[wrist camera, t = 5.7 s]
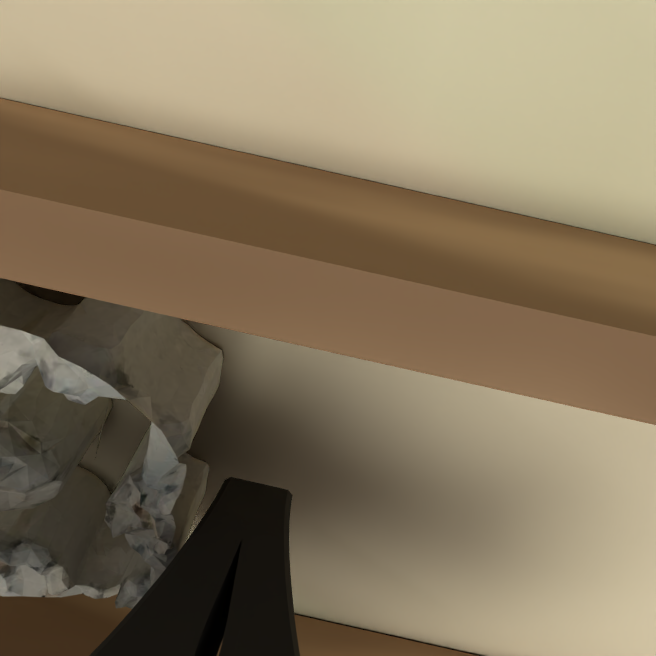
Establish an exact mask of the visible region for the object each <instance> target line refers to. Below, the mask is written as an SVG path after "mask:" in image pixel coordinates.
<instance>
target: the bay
mask: <svg viewBox="0 0 656 656" xmlns="http://www.w3.org/2000/svg"><path fill="white" fill-rule="evenodd" d="M0 278H3V279H7V280H12V281H16V282H21V283H25V284H29V285H34V286H38V287H43V288H47V289H52V290H56V291H61V292H65V293H70V294H74V295H78V296H83V297H87V298H92V299H96V300H101V301H105V302H110V303H114V304H119V305H123V306H128V307H132V308H136V309H141V310H145V311H150V312H154V313H159V314H163V315H168V316H172V317H177V318H181V319H185V320H190V321H194V322H199V323H203V324H208V325H212V326H217V327H221V328H226V329H230V330H235V331H239V332H243V333H248V334H252V335H257V336H261V337H266V338H270V339H275V340H279V341H284V342H288V343H292V344H297V345H301V346H306V347H310V348H315V349H319V350H324V351H328V352H333V353H337V354H342V355H346V356H350V357H355V358H359V359H364V360H368V361H373V362H377V363H382V364H386V365H391V366H395V367H399V368H404V369H408V370H413V371H417V372H422V373H426V374H431V375H435V376H440V377H444V378H449V379H453V380H457V381H462V382H466V383H471V384H475V385H480V386H484V387H489V388H493V389H498V390H502V391H506V392H511V393H515V394H520V395H524V396H529V397H533V398H538V399H542V400H547V401H551V402H556V403H560V404H564V405H569V406H573V407H578V408H582V409H587V410H591V411H596V412H600V413H605V414H609V415H613V416H618V417H622V418H627V419H631V420H636V421H640V422H645V423H649V424H654V425H656V245H652V244H648V243H643V242H639V241H634V240H630V239H625V238H621V237H617V236H612V235H608V234H603V233H599V232H594V231H590V230H585V229H581V228H576V227H572V226H568V225H563V224H559V223H554V222H550V221H545V220H541V219H536V218H532V217H527V216H523V215H518V214H514V213H510V212H505V211H501V210H496V209H492V208H487V207H483V206H478V205H474V204H469V203H465V202H461V201H456V200H452V199H447V198H443V197H438V196H434V195H429V194H425V193H420V192H416V191H412V190H407V189H403V188H398V187H394V186H389V185H385V184H380V183H376V182H371V181H367V180H363V179H358V178H354V177H349V176H345V175H340V174H336V173H331V172H327V171H322V170H318V169H313V168H309V167H305V166H300V165H296V164H291V163H287V162H282V161H278V160H273V159H269V158H264V157H260V156H256V155H251V154H247V153H242V152H238V151H233V150H229V149H224V148H220V147H215V146H211V145H207V144H202V143H198V142H193V141H189V140H184V139H180V138H175V137H171V136H166V135H162V134H158V133H153V132H149V131H144V130H140V129H135V128H131V127H126V126H122V125H117V124H113V123H108V122H104V121H100V120H95V119H91V118H86V117H82V116H77V115H73V114H68V113H64V112H59V111H55V110H51V109H46V108H42V107H37V106H33V105H28V104H24V103H19V102H15V101H10V100H6V99H2V98H0ZM117 595H118V594H116V595H114V596H111V597H108V598H100V599H94V598H91V597H89V596H86V595H84V594H78V595H72V596H66V597H28V596H0V656H89V655H90V654H91V653H92V652H93V651H94V650H95V649H96V648H97V647H98V646H99V645H100V644H101V643H102V642H103V641H104V640H105V639H106V638H107V636H108V635H109V634H110V633H111V632H112V631H113V630H114V629H115V628H116V627H117V626H118V625H119V623H120V622H121V621H122V620H123V619H124V618H125V617H126V616H127V614H128V613H129V612H130V611H131V610H132V609H131V608H128V607H123V608H116V606H115V600H116V597H117ZM294 617H295V625H296V632H297V639H298V645H299V652H300V656H477V655H473V654H468V653H464V652H459V651H455V650H451V649H446V648H442V647H437V646H433V645H428V644H424V643H419V642H415V641H410V640H406V639H401V638H397V637H393V636H388V635H384V634H379V633H375V632H370V631H366V630H361V629H357V628H352V627H348V626H343V625H339V624H335V623H330V622H326V621H321V620H317V619H312V618H308V617H303V616H299V615H294ZM222 641H223V640H222ZM221 645H222V642H221ZM221 645H220V648H219V651H218V654H217V656H219V653H220V649H221Z"/></svg>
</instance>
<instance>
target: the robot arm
mask: <svg viewBox="0 0 656 656" xmlns="http://www.w3.org/2000/svg"><path fill="white" fill-rule="evenodd" d="M291 500H292V494H291V493H290V492H289V491H288V490H286V489H282V488H277V487H273V486H268V485H264V484H259V483H255V482H251V481H246V480H242V479H237V478H233V477H231V478H228V479H226V480H225V481H224V483H223V485H222V487H221V489H220V491H219V493H218V494H217V496H216V498H215V499H214V501H213V503H212V504H211V506H210V508H209V509H208V511H207V512H206V514H205V515H204V517H203V518H202V520H201V521H200V523H199V524H198V526H197V527H196V529H195V530H194V532H193V533H192V534H191V536H190V537H189V539H188V540H187V541H186V543H185V544H184V545H183V547H182V548H181V549H180V551H179V552H178V553H177V555H176V556H175V557H174V559H173V560H172V561H171V563H170V564H169V565H168V567H167V568H166V569H165V570H164V572H163V573H162V574H161V575H160V577H159V578H158V579H157V580H156V581H155V583H154V584H153V585H152V586H151V587H150V589H149V590H148V591H147V592H146V593H145V594H144V596H143V597H142V598H141V599H140V600H139V602H138V603H137V604H136V605H135V606H134V608H133V609H132V610H131V611H130V612H129V613H128V614H127V616H126V617H125V618H124V619H123V620H122V621H121V622H120V623H119V625H118V626H117V627H116V628H115V629H114V630H113V631H112V632H111V633H110V634H109V635H108V636H107V638H106V639H105V640H104V641H103V642H102V643H101V644H100V645H99V646H98V647H97V648H96V649H95V650H94V651H93V652H92V653H91V654H90V655H89V656H217V654H218V651H219V648H220V645H221V642H222V645H221V649H220V653H219V656H300V652H299V645H298V639H297V632H296V625H295V617H294V608H293V598H292V587H291V576H290V560H289V519H290V507H291ZM222 640H223V641H222Z"/></svg>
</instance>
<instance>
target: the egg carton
mask: <svg viewBox="0 0 656 656" xmlns="http://www.w3.org/2000/svg"><path fill="white" fill-rule="evenodd" d="M222 363H223V356H222V350H220V349H219V348H217V347H216V346H214V345H212V344H211V343H209V342H208V341H206V340H205V339H203V338H202V337H201V336H199V335H198V334H197V333H196V332H195V331H194V330H193V329H192V328H191V327H190V326H189V325H187V324H186V323H184V322H183V321H182V319H181V318H177V317H172V316H168V315H163V314H159V313H154V312H150V311H145V310H141V309H136V308H132V307H128V306H123V305H119V304H114V303H110V302H105V301H101V300H96V299H92V298H87V297H85V299H84V300H83V301H82V302H81V303H80V304H78V305H74V306H73V305H60V304H57V303H54V302H51V301H48V300H45V299H41V298H39V297H36V296H34V295H32V294H30V293H29V292H27V291H26V290H24V289H23V288H21V287H20V286H19V285H18V284H17V283H16V282H15V281H12V280H7V279H3V278H0V596H28V597H66V596H72V595H78V594H84V595H86V596H89V597H91V598H94V599H100V598H108V597H111V596H114V595H116V594H118V595H117V597H116V600H115V606H116V608H123V607H128V608H131V609H133V608H134V606H135V605H136V604H137V603H138V602H139V600H140V599H141V598H142V597H143V596H144V594H145V593H146V592H147V591H148V590H149V589H150V587H151V586H152V585H153V584H154V583H155V581H156V580H157V579H158V578H159V577H160V575H161V574H162V573H163V572H164V570H165V569H166V568H167V567H168V565H169V564H170V563H171V561H172V560H173V559H174V557H175V556H176V555H177V553H178V552H179V551H180V549H181V548H182V547H183V545H184V544H185V541H186V539H187V536H188V534H189V531H190V528H191V525H192V522H193V520H194V517H195V515H196V513H197V510H198V508H199V505H200V503H201V501H202V499H203V497H204V495H205V491H206V485H207V477H208V472H209V466H208V464H207V463H206V462H205V461H201V460H198V459H195V458H193V457H192V456H190V455H189V454H187V453H186V452H187V451H188V450H189V449H190V447H191V443H192V440H193V438H194V436H195V434H196V432H197V430H198V428H199V425H200V423H201V420H202V418H203V416H204V413H205V411H206V408H207V407H208V405H209V403H210V402H211V400H212V398H213V397H214V395H215V393H216V391H217V388H218V386H219V384H220V376H221V369H222ZM111 398H117V399H125V400H127V401H129V402H130V403H131V404H132V405H133V406H134V407H135V408H137V409H138V410H139V411H140V412H141V413H142V414H143V415H145V416H146V417H147V418H148V419H149V420H150V421H151V425H150V427H149V429H148V430H147V432H146V434H145V435H144V437H143V439H142V441H141V443H140V444H139V446H138V448H137V450H136V452H135V454H134V456H133V458H132V460H131V461H130V463H129V465H128V467H127V469H126V471H125V472H124V474H123V476H122V478H121V480H120V482H119V483H118V485H117V487H116V489H115V490H114V492H113V493H112V495H111V494H110V492H109V490H108V488H107V486H106V485H105V484H104V483H103V482H102V481H101V480H100V479H99V478H98V477H97V476H95V475H94V474H93V473H91V472H90V471H88V470H86V469H84V468H82V467H80V466H78V464H79V462H80V461H81V459H82V458H83V456H84V454H85V453H86V451H87V449H88V447H89V446H90V445H91V443H92V442H93V440H94V439H95V437H96V436H97V434H98V433H99V432H100V430H101V432H100V437H99V442H100V438H101V434H102V430H103V426H104V423H105V421H106V419H107V416H108V414H109V412H110V410H111V408H112V406H113V403H112V400H111ZM99 442H98V446H99ZM97 450H98V447H97ZM96 454H97V452H96ZM95 458H96V457H95Z"/></svg>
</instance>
